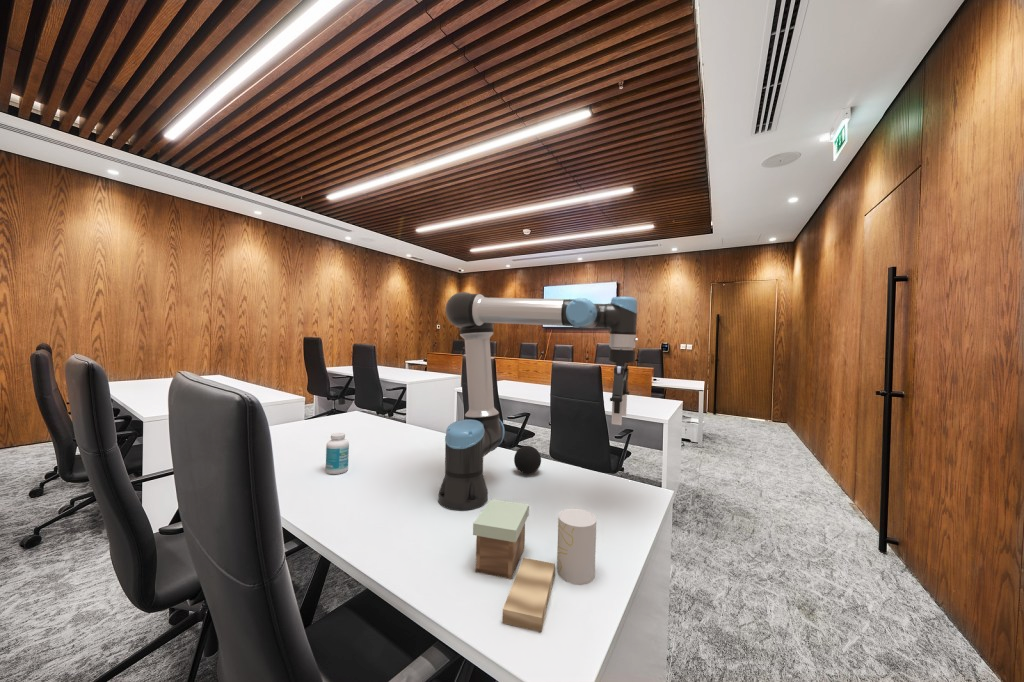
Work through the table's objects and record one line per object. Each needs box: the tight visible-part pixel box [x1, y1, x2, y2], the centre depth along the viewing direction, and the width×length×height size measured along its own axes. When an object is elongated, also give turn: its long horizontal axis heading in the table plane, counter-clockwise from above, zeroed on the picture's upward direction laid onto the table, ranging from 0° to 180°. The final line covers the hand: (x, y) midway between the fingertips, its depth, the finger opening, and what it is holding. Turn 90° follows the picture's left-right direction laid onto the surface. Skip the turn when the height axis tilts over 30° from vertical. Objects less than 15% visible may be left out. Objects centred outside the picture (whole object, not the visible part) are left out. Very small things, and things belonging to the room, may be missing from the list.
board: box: [501, 557, 556, 633], centre depth 73 cm, size 16×7×2 cm, turn 165°
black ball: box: [513, 445, 542, 475], centre depth 138 cm, size 10×10×10 cm
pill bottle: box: [325, 432, 350, 475], centre depth 135 cm, size 8×7×14 cm
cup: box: [556, 508, 597, 586], centre depth 81 cm, size 8×8×12 cm
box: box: [475, 523, 526, 580], centre depth 85 cm, size 12×8×8 cm, turn 165°
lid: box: [472, 498, 530, 542], centre depth 85 cm, size 12×10×3 cm
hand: (619, 419), depth 112 cm, fingers open, 13 cm apart
